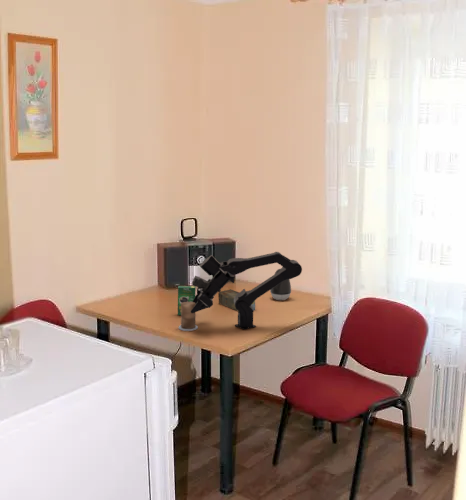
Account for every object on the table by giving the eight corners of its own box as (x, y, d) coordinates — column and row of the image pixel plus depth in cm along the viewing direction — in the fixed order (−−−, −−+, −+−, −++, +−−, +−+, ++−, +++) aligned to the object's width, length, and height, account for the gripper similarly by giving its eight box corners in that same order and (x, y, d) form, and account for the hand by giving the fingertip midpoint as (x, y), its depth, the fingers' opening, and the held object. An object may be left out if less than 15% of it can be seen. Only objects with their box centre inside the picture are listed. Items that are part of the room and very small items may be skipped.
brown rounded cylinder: (198, 326, 262) (198, 303, 260) (190, 329, 256) (189, 306, 255) (186, 323, 265) (186, 300, 263) (178, 327, 260) (178, 304, 258)
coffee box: (195, 313, 280) (195, 285, 278) (195, 315, 277) (195, 287, 275) (177, 313, 280) (177, 285, 277) (177, 315, 277) (177, 287, 274)
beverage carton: (242, 313, 281) (242, 299, 280) (217, 304, 296) (217, 290, 295) (255, 310, 286) (256, 296, 285) (230, 301, 301) (230, 288, 300)
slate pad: (201, 328, 260) (201, 327, 260) (185, 332, 255) (185, 331, 255) (190, 323, 266) (190, 322, 266) (174, 327, 261) (174, 326, 261)
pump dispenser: (290, 302, 299) (291, 271, 296) (269, 301, 301) (269, 270, 298) (292, 296, 309) (292, 266, 306) (271, 295, 310) (271, 266, 307)
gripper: (202, 264, 265) (177, 290, 267) (204, 275, 247) (176, 302, 248) (221, 282, 268) (195, 307, 269) (224, 293, 249) (197, 321, 251)
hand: (191, 309), depth 259 cm, fingers open, 9 cm apart
